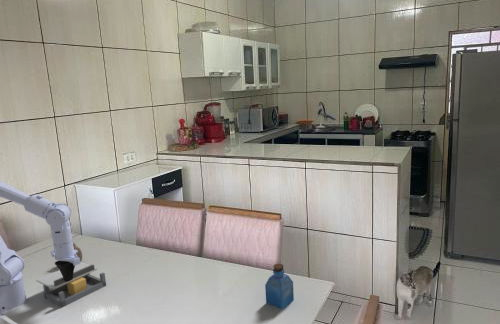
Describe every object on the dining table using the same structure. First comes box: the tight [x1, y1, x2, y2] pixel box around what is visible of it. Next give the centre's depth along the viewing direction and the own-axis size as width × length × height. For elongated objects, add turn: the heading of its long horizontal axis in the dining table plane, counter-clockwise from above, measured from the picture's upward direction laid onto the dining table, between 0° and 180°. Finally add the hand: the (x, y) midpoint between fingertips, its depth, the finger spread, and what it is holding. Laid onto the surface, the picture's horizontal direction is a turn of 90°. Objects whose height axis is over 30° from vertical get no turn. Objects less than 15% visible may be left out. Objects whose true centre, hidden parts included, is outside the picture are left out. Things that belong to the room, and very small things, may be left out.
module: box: [67, 277, 87, 295], centre depth 132 cm, size 4×4×5 cm
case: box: [42, 272, 107, 308], centre depth 133 cm, size 16×11×6 cm
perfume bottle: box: [264, 263, 295, 310], centre depth 120 cm, size 6×6×12 cm
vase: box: [73, 242, 83, 262], centre depth 157 cm, size 7×7×9 cm
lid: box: [36, 261, 98, 290], centre depth 135 cm, size 16×11×2 cm
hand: (68, 280), depth 129 cm, fingers closed
